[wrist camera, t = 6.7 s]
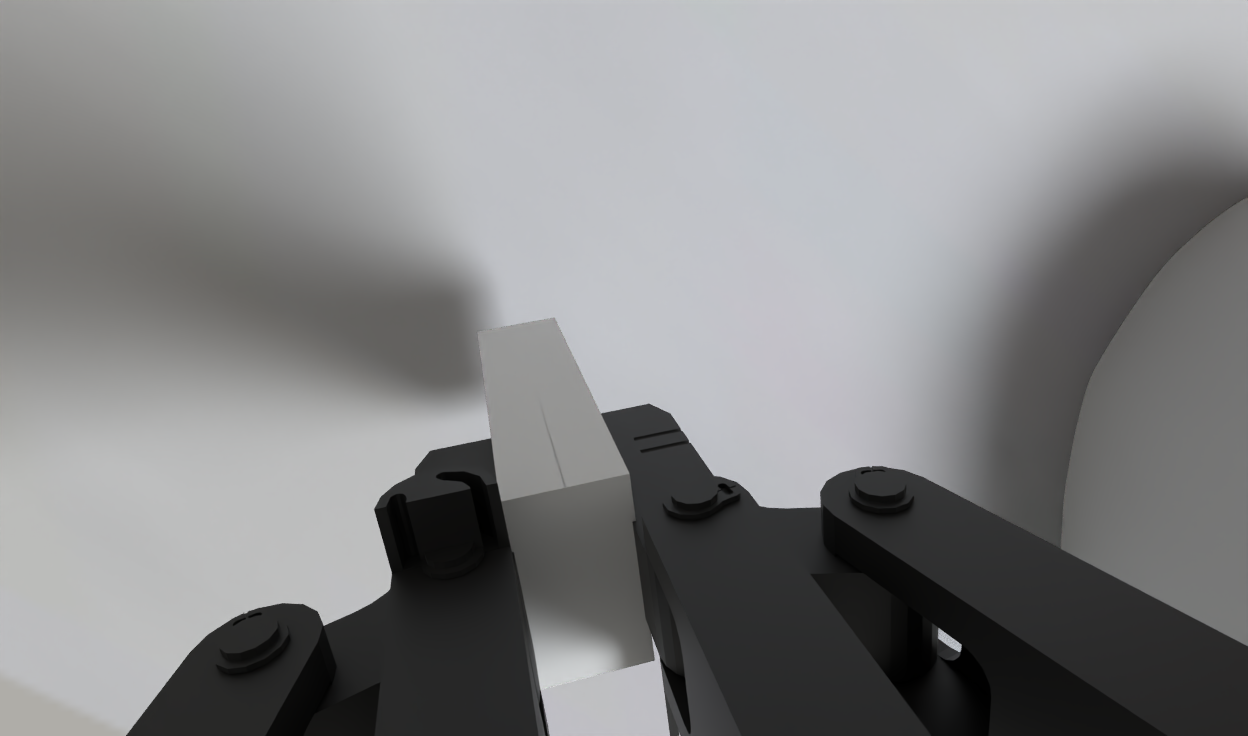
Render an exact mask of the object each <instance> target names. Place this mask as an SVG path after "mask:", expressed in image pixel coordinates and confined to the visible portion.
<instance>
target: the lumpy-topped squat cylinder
mask: <svg viewBox="0 0 1248 736" xmlns="http://www.w3.org/2000/svg"><path fill="white" fill-rule="evenodd" d="M1061 549H1062V550H1064V551H1066V552H1068V553H1070V554H1072V555H1073V556H1075V557H1077V558H1079V559H1081V560H1083V561H1085V562H1087V563H1089V564H1091V565H1093V566H1095V567H1097V568H1098V569H1100V570H1102V571H1104V572H1106V573H1108V574H1110V575H1112V576H1114V577H1116V578H1118V579H1120V580H1121V581H1123V582H1125V583H1127V584H1129V585H1131V586H1133V587H1135V588H1137V589H1139V590H1141V591H1143V592H1145V593H1146V594H1148V595H1150V596H1152V597H1154V598H1156V599H1158V600H1160V601H1162V602H1164V603H1166V604H1168V605H1170V606H1171V607H1173V608H1175V609H1177V610H1179V611H1181V612H1183V613H1185V614H1187V615H1189V616H1191V617H1193V618H1194V619H1196V620H1198V621H1200V622H1202V623H1204V624H1206V625H1208V626H1210V627H1212V628H1214V629H1216V630H1218V631H1219V632H1221V633H1223V634H1225V635H1227V636H1229V637H1231V638H1233V639H1235V640H1237V641H1239V642H1241V643H1243V644H1244V645H1246V646H1248V197H1247V198H1245V199H1243V200H1241V201H1240V202H1238V203H1236V204H1235V205H1233V206H1232V207H1230V208H1229V209H1227V210H1226V211H1224V212H1223V213H1222V214H1220V215H1219V216H1218V217H1216V218H1215V219H1214V220H1212V221H1211V222H1210V223H1209V224H1207V225H1206V226H1205V227H1204V228H1203V229H1201V230H1200V231H1199V232H1198V233H1197V234H1196V235H1195V236H1193V237H1192V238H1191V239H1190V240H1189V241H1188V242H1187V243H1186V244H1185V245H1184V246H1183V247H1181V248H1180V249H1179V250H1178V251H1177V252H1176V253H1175V254H1174V255H1173V256H1172V257H1171V258H1170V259H1169V261H1168V262H1167V263H1166V264H1165V265H1164V266H1163V267H1162V269H1161V270H1160V271H1159V272H1158V273H1157V275H1156V276H1155V277H1154V279H1153V280H1152V281H1151V283H1150V284H1149V285H1148V287H1147V288H1146V289H1145V291H1144V292H1143V294H1142V295H1141V296H1140V298H1139V299H1138V301H1137V302H1136V304H1135V305H1134V306H1133V308H1132V309H1131V311H1130V312H1129V314H1128V315H1127V317H1126V318H1125V320H1124V321H1123V323H1122V324H1121V326H1120V328H1119V329H1118V331H1117V332H1116V334H1115V335H1114V337H1113V339H1112V340H1111V342H1110V343H1109V345H1108V347H1107V348H1106V350H1105V352H1104V353H1103V355H1102V357H1101V358H1100V360H1099V362H1098V364H1097V365H1096V367H1095V369H1094V371H1093V373H1092V375H1091V378H1090V380H1089V383H1088V386H1087V389H1086V392H1085V395H1084V399H1083V402H1082V406H1081V410H1080V414H1079V418H1078V422H1077V427H1076V431H1075V436H1074V440H1073V445H1072V450H1071V456H1070V461H1069V467H1068V473H1067V479H1066V486H1065V493H1064V503H1063V522H1062V534H1061Z"/></svg>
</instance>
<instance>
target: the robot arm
mask: <svg viewBox="0 0 1248 736" xmlns="http://www.w3.org/2000/svg"><path fill="white" fill-rule="evenodd" d="M477 333H478V341H479V349H480V356H481V364H482V372H483V379H484V387H485V395H486V402H487V410H488V418H489V425H490V433H491V439H486V440H481V441H476V442H471V443H466V444H461V445H456V446H452V447H447V448H442V449H437V450H432V451H430V452H429V453H428V454H427V455H426V457H425V458H424V459H423V460H422V462H421V463H420V464H419V465H418V466H417V468H416V469H415V475H414V476H412V477H410V478H408V479H406V480H404V481H402V482H400V483H398V484H396V485H394V486H393V487H392V488H391V489H390V490H388V491H387V492H386V493H385V494H384V495H382V496H381V497H380V499H379V501H378V503H377V505H376V507H375V509H374V510H375V514H376V518H377V521H378V525H379V528H380V532H381V535H382V539H383V543H384V546H385V550H386V553H387V557H388V560H389V564H390V568H391V571H392V579H391V588H390V590H389V591H388V592H387V593H386V594H384V595H383V596H382V597H380V598H379V599H377V600H376V601H374V602H373V603H372V604H370V605H368V606H366V607H364V608H362V609H360V610H358V611H356V612H354V613H352V614H350V615H348V616H345V617H343V618H341V619H338V620H336V621H334V622H332V623H329V624H327V625H325V626H323V623H322V621H321V618H320V616H319V614H318V612H317V611H315V610H313V609H311V608H310V607H308V606H306V605H304V604H285V603H282V604H277V605H272V606H267V607H262V608H258V609H255V610H251V611H248V613H246V614H244V613H243V614H241V615H239V616H237V617H235V618H233V619H231V620H230V621H228V622H227V623H225V624H224V625H222V626H221V627H219V628H217V629H216V630H214V631H213V632H211V633H210V634H208V635H207V636H206V637H205V638H204V639H203V640H202V641H201V642H200V643H199V644H198V645H197V646H196V647H195V648H194V649H193V650H192V651H191V652H190V653H189V654H188V656H187V657H186V658H185V660H184V661H183V662H182V664H181V665H180V666H179V667H178V669H177V670H176V671H175V673H174V674H173V675H172V677H171V678H170V679H169V681H168V682H167V683H166V684H165V686H164V687H163V688H162V690H161V691H160V692H159V694H158V695H157V696H156V697H155V699H154V700H153V701H152V703H151V704H150V705H149V707H148V708H147V709H146V710H145V712H144V713H143V714H142V716H141V717H140V718H139V720H138V721H137V722H136V724H135V725H134V726H133V727H132V729H131V730H130V731H129V733H128V734H127V735H126V736H549V730H548V724H547V719H546V714H545V709H544V704H543V700H542V695H541V690H542V689H546V688H550V687H554V686H558V685H561V684H565V683H569V682H573V681H577V680H581V679H585V678H588V677H592V676H596V675H600V674H604V673H608V672H612V671H615V670H619V669H623V668H627V667H631V666H635V665H639V664H642V663H646V662H650V661H654V660H655V659H654V651H653V644H652V637H653V639H654V642H655V645H656V647H657V650H658V653H659V655H660V662H661V669H662V677H663V685H664V692H665V700H666V707H667V715H668V723H669V730H670V736H679V733H680V735H681V736H1248V646H1246V645H1244V644H1243V643H1241V642H1239V641H1237V640H1235V639H1233V638H1231V637H1229V636H1227V635H1225V634H1223V633H1221V632H1219V631H1218V630H1216V629H1214V628H1212V627H1210V626H1208V625H1206V624H1204V623H1202V622H1200V621H1198V620H1196V619H1194V618H1193V617H1191V616H1189V615H1187V614H1185V613H1183V612H1181V611H1179V610H1177V609H1175V608H1173V607H1171V606H1170V605H1168V604H1166V603H1164V602H1162V601H1160V600H1158V599H1156V598H1154V597H1152V596H1150V595H1148V594H1146V593H1145V592H1143V591H1141V590H1139V589H1137V588H1135V587H1133V586H1131V585H1129V584H1127V583H1125V582H1123V581H1121V580H1120V579H1118V578H1116V577H1114V576H1112V575H1110V574H1108V573H1106V572H1104V571H1102V570H1100V569H1098V568H1097V567H1095V566H1093V565H1091V564H1089V563H1087V562H1085V561H1083V560H1081V559H1079V558H1077V557H1075V556H1073V555H1072V554H1070V553H1068V552H1066V551H1064V550H1062V549H1060V548H1058V547H1056V546H1054V545H1052V544H1050V543H1048V542H1047V541H1045V540H1043V539H1041V538H1039V537H1037V536H1035V535H1033V534H1031V533H1029V532H1027V531H1025V530H1023V529H1022V528H1020V527H1018V526H1016V525H1014V524H1012V523H1010V522H1008V521H1006V520H1004V519H1002V518H1000V517H999V516H997V515H995V514H993V513H991V512H989V511H987V510H985V509H983V508H981V507H979V506H977V505H975V504H974V503H972V502H970V501H968V500H966V499H964V498H962V497H960V496H958V495H956V494H954V493H952V492H950V491H949V490H947V489H945V488H943V487H941V486H939V485H937V484H935V483H933V482H931V481H929V480H927V479H926V478H924V477H921V476H918V475H915V474H913V473H910V472H907V471H905V470H898V469H892V468H887V467H883V466H872V467H871V468H870V467H861V468H857V469H854V470H850V471H846V472H842V473H839V474H838V475H836V476H834V477H833V478H831V479H829V480H828V481H827V482H826V483H825V485H824V487H823V488H822V490H821V492H820V497H821V508H790V509H784V508H766V507H761V506H759V505H758V504H757V503H756V501H755V500H754V499H753V497H752V496H751V495H750V493H749V492H748V491H747V490H746V489H744V488H743V487H742V486H741V485H739V484H738V483H737V482H734V481H731V480H728V479H725V478H722V477H717V476H713V474H712V473H711V471H710V470H709V469H708V467H707V466H706V464H705V463H704V461H703V460H702V459H701V457H700V456H699V454H698V453H697V451H696V450H695V448H694V447H693V446H692V444H691V443H689V440H688V438H687V437H686V436H685V434H684V433H683V431H681V429H680V427H679V426H678V424H677V423H676V421H675V420H674V418H673V417H672V415H671V414H670V413H668V412H666V411H663V410H661V409H659V408H657V407H655V406H653V405H651V404H646V405H641V406H636V407H631V408H626V409H621V410H616V411H611V412H607V413H602V414H601V413H600V411H599V409H598V407H597V405H596V403H595V401H594V399H593V397H592V395H591V392H590V390H589V388H588V386H587V384H586V382H585V380H584V378H583V376H582V374H581V372H580V370H579V367H578V365H577V363H576V361H575V359H574V357H573V355H572V353H571V351H570V349H569V347H568V345H567V343H566V340H565V338H564V336H563V334H562V332H561V330H560V328H559V326H558V324H557V322H556V320H555V318H550V319H544V320H539V321H533V322H528V323H522V324H517V325H511V326H506V327H500V328H495V329H489V330H484V331H478V332H477ZM938 628H940V629H941V630H942V631H944V632H945V633H947V634H948V635H949V636H951V637H952V638H953V639H955V640H956V641H958V642H959V643H960V644H962V649H961V652H958V651H956V650H954V649H952V648H950V647H949V646H947V645H946V644H945V643H943V642H942V641H941V640H939V639H938ZM651 634H652V636H651Z"/></svg>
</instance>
